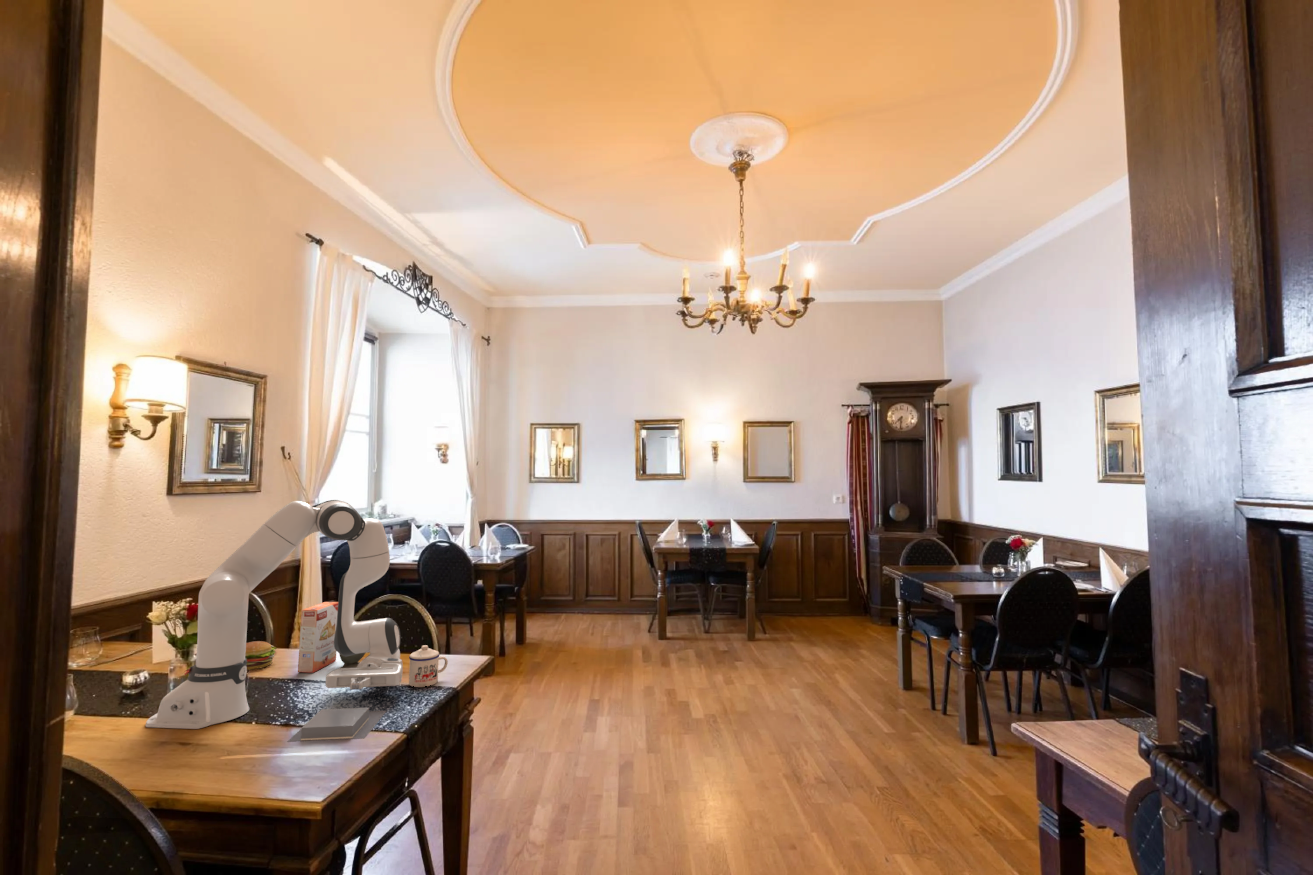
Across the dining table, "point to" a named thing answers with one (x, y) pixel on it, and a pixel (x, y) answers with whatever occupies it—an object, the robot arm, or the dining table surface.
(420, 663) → the teacup with lid
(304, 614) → the cracker box
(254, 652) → the food
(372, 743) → the dining table surface
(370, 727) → the felt mat
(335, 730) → the glazed tile
